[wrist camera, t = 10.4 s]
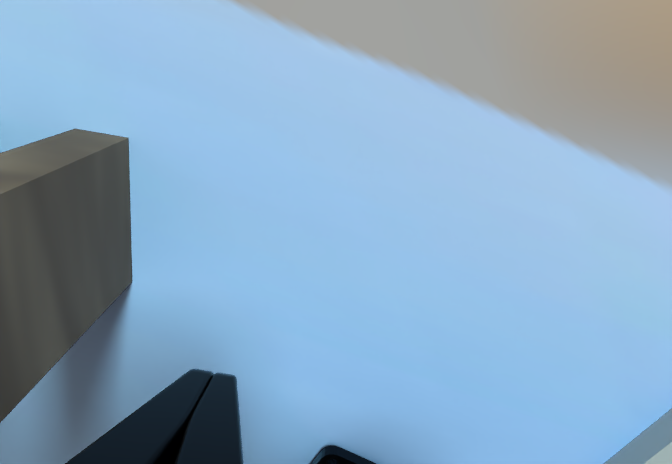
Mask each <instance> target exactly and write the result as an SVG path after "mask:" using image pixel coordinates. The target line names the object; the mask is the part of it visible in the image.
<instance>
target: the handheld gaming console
mask: <svg viewBox="0 0 672 464" xmlns="http://www.w3.org/2000/svg"><path fill="white" fill-rule="evenodd" d="M604 464H672V409H670V410H669V411H668V412H667V413H665V414H664V415H663V416H662V417H660V418H659V419H658V420H657V421H656V422H654V423H653V424H652V425H651V426H649V427H648V428H647V429H646V430H644V431H643V432H642V433H641V434H640V435H638V436H637V437H636V438H635V439H633V440H632V441H631V442H630V443H628V444H627V445H626V446H625V447H624V448H622V449H621V450H620V451H619V452H617V453H616V454H615V455H614V456H612V457H611V458H610V459H609V460H608V461H606V462H605V463H604Z"/></svg>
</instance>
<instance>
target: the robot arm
mask: <svg viewBox="0 0 672 464" xmlns="http://www.w3.org/2000/svg"><path fill="white" fill-rule="evenodd" d="M333 459H334V460H333ZM65 464H243V454H242V441H241V429H240V416H239V404H238V391H237V380H236V377H235V376H234V375H229V374H223V373H215V374H213V373H212V372H211V371H205V370H199V369H192V370H190V371H188V372H187V373H186V374H184V375H183V376H182V377H180V378H179V379H178V380H176V381H175V382H174V383H172V384H171V385H169V386H168V387H167V388H165V389H164V390H163V391H161V392H160V393H159V394H157V395H156V396H155V397H153V398H152V399H151V400H149V401H148V402H147V403H145V404H144V405H143V406H141V407H140V408H139V409H137V410H136V411H135V412H133V413H132V414H131V415H129V416H128V417H127V418H125V419H124V420H123V421H121V422H120V423H119V424H117V425H116V426H115V427H113V428H112V429H111V430H109V431H108V432H107V433H105V434H104V435H103V436H101V437H100V438H99V439H97V440H96V441H95V442H93V443H92V444H91V445H89V446H88V447H87V448H85V449H84V450H83V451H81V452H80V453H79V454H77V455H76V456H75V457H73V458H72V459H71V460H69V461H68V462H67V463H65ZM311 464H376V463H373V462H371V461H369V460H367V459H365V458H362V457H360V456H358V455H356V454H354V453H351V452H349V451H347V450H345V449H342V448H340V447H337V446H327V447H325V448H324V449H322V451H321V452H320V453H319V454H318V456H317V457H316V458H315V460H314V461H313V462H312V463H311Z"/></svg>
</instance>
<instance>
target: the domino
mask: <svg viewBox="0 0 672 464" xmlns="http://www.w3.org/2000/svg"><path fill="white" fill-rule="evenodd" d="M131 283H132V256H131V218H130V180H129V142H128V138H126V137H120V136H115V135H109V134H103V133H97V132H91V131H85V130H80V129H73V130H70V131H67V132H64V133H61V134H57V135H54V136H51V137H48V138H45V139H42V140H39V141H36V142H33V143H30V144H27V145H24V146H21V147H18V148H15V149H12V150H9V151H6V152H2V153H0V423H1V421H2V420H3V419H4V418H5V417H6V416H7V415H8V414H9V413H10V412H11V411H12V410H13V409H14V408H15V406H16V405H17V404H18V403H19V402H20V401H21V400H22V399H23V398H24V397H25V396H26V395H27V394H28V393H29V392H30V390H31V389H32V388H33V387H34V386H35V385H36V384H37V383H38V382H39V381H40V380H41V379H42V378H43V377H44V376H45V374H46V373H47V372H48V371H49V370H50V369H51V368H52V367H53V366H54V365H55V364H56V363H57V362H58V361H59V359H60V358H61V357H62V356H63V355H64V354H65V353H66V352H67V351H68V350H69V349H70V348H71V347H72V346H73V345H74V343H75V342H76V341H77V340H78V339H79V338H80V337H81V336H82V335H83V334H84V333H85V332H86V331H87V330H88V329H89V327H90V326H91V325H92V324H93V323H94V322H95V321H96V320H97V319H98V318H99V317H100V316H101V315H102V314H103V312H104V311H105V310H106V309H107V308H108V307H109V306H110V305H111V304H112V303H113V302H114V301H115V300H116V299H117V298H118V296H119V295H120V294H121V293H122V292H123V291H124V290H125V289H126V288H127V287H128V286H129V285H130V284H131Z"/></svg>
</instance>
